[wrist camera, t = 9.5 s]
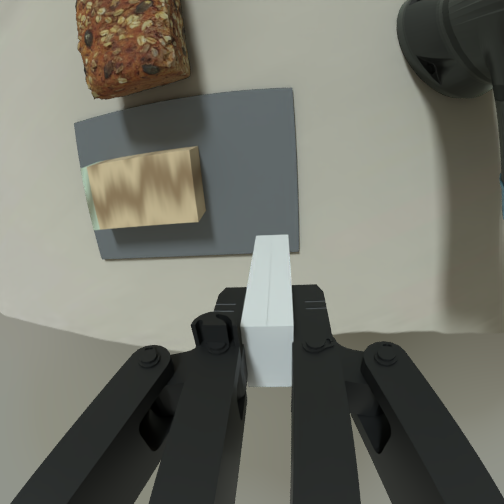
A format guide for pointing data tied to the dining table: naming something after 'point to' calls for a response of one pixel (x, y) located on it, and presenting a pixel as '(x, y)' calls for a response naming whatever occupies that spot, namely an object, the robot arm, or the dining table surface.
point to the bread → (131, 45)
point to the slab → (145, 189)
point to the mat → (208, 169)
